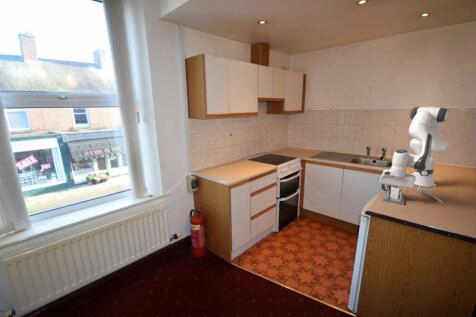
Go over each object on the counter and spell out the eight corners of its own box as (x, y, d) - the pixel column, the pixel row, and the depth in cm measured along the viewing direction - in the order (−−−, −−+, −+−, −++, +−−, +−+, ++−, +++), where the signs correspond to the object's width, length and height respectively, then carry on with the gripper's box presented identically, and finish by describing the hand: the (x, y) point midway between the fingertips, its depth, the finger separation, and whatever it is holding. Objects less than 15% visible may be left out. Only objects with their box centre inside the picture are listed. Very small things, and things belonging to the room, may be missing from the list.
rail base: (384, 192, 173) (385, 191, 173) (403, 196, 166) (404, 194, 166) (382, 200, 159) (383, 198, 159) (403, 204, 152) (404, 202, 152)
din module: (390, 194, 167) (392, 184, 165) (397, 195, 164) (399, 185, 162) (389, 197, 160) (391, 187, 159) (397, 199, 158) (399, 189, 156)
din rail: (387, 191, 172) (388, 189, 171) (401, 193, 167) (401, 191, 166) (386, 199, 158) (386, 196, 157) (401, 202, 153) (401, 199, 152)
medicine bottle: (380, 190, 179) (382, 175, 176) (387, 188, 181) (389, 174, 178) (389, 193, 172) (391, 178, 169) (395, 192, 175) (398, 177, 172)
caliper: (416, 192, 174) (418, 184, 173) (418, 192, 175) (419, 184, 173) (442, 203, 155) (444, 194, 153) (443, 203, 155) (445, 194, 153)
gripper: (416, 174, 155) (412, 193, 158) (381, 169, 166) (378, 187, 170) (416, 176, 150) (413, 195, 153) (380, 171, 161) (378, 189, 165)
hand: (394, 191), depth 161 cm, fingers open, 8 cm apart
